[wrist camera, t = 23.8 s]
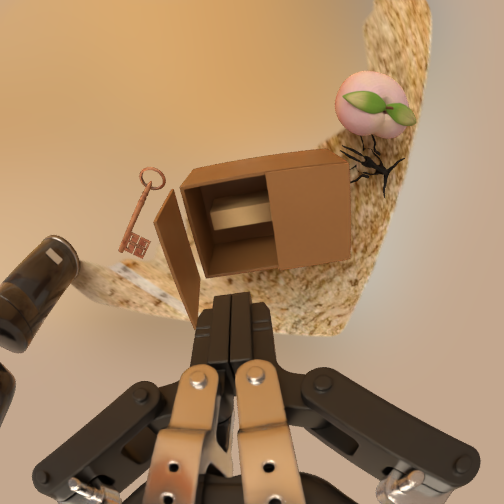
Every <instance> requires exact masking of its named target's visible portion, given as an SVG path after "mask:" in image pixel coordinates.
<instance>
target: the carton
mask: <svg viewBox="0 0 504 504" xmlns="http://www.w3.org/2000/svg"><path fill="white" fill-rule="evenodd" d="M341 163H347V161H346V160H344V159H342V158H341V157H339V156H338V155H336V154H334V153H333V152H331V151H329V150H327V149H316V150H306V151H298V152H290V153H282V154H275V155H268V156H261V157H255V158H248V159H243V160H237V161H231V162H226V163H221V164H215V165H210V166H206V167H200V168H196V169H193V170H192V172H191V173H190V174H189V176H188V177H187V178H186V180H185V181H184V182H183V183H182V185H181V186H180V190H181V194H182V198H183V201H184V205H185V209H186V213H187V216H188V220H189V224H190V227H191V231H192V234H193V237H194V241H195V244H196V248H197V251H198V254H199V258H200V261H201V264H202V267H203V271H204V274H205V277H206V278H213V277H220V276H227V275H234V274H240V273H247V272H254V271H261V270H267V269H274V268H279V265H278V258H277V250H276V243H275V236H274V229H273V222H272V221H268V222H262V223H256V224H250V225H244V226H238V227H232V228H226V229H220V230H214V228H213V224H212V220H211V216H210V211H211V208H212V204H213V201H214V199H217V198H223V197H228V196H234V195H239V194H245V193H251V192H257V191H263V190H268V189H267V182H266V176H265V173H266V172H273V171H280V170H287V169H295V168H303V167H312V166H321V165H330V164H341ZM153 223H154V226H155V229H156V232H157V235H158V238H159V241H160V243H161V246H162V249H163V252H164V255H165V257H166V260H167V263H168V266H169V268H170V271H171V274H172V276H173V279H174V281H175V284H176V287H177V289H178V292H179V294H180V297H181V299H182V302H183V304H184V306H185V309H186V311H187V314H188V316H189V318H190V321H191V323H192V325H193V328H194V330H196V326H197V320H198V306H199V292H200V276H199V273H198V270H197V266H196V263H195V260H194V257H193V254H192V250H191V247H190V244H189V241H188V237H187V234H186V231H185V227H184V224H183V220H182V217H181V214H180V210H179V207H178V203H177V199H176V196H175V192H174V189H172V190H171V191H170V193H169V195H168V196H167V198H166V200H165V201H164V203H163V205H162V207H161V209H160V211H159V212H158V214H157V216H156V218H155V220H154V222H153Z"/></svg>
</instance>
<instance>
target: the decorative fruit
mask: <svg viewBox="0 0 504 504" xmlns="http://www.w3.org/2000/svg"><path fill="white" fill-rule="evenodd" d="M335 111H336V114H337V117H338V119H339V121H340V122H341V123H342V125H343V126H344V127H345V128H346V129H348V130H349V131H350V132H352V133H354V134H357V135H361V136H364V135H370V134H374V135H376V136H378V137H381V138H386V139H389V138H394V137H397V136H398V135H400V134H401V133H402V132H403V131H404V130H405V129H406V127H407V126H412V125H414V124H416V118H415V115H414V113H413V112H412V111H411V109H410V108H409V104H408V101H407V98H406V95H405V92H404V90H403V89H402V87H401V86H400V85H399V84H398V83H397V82H396V81H395V80H394V79H392V78H391V77H389V76H387V75H385V74H382V73H379V72H374V71H361V72H357V73H354V74H352V75H351V76H349V77H348V78H347V79H346V80H345V81H344V82H343V84H342V85H341V87H340V89H339V91H338V94H337V96H336V101H335Z"/></svg>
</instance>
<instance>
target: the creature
mask: <svg viewBox="0 0 504 504" xmlns="http://www.w3.org/2000/svg"><path fill="white" fill-rule="evenodd" d="M371 135H372V134H371ZM360 137H361V135H360ZM372 138H373V141H374V152H375V153H376V154H378V155H380V153H379V152H378V151H377V150H376V148H375V146H376V141H375V138H374V136H373V135H372ZM361 140H362V137H361ZM362 143H363V140H362ZM342 146H343V145H342ZM343 147H345V146H343ZM345 148H347V149H349V150H351V151H353V152H354V153H356V154H358V155H360V156H363V155H362V154H361V153H359V152H358V151H356V150H354V149H352V148H348V147H345ZM367 149H369V148H367ZM364 150H365V148H364V144H363V151H364ZM371 150H372V149H371ZM340 151H341V150H340ZM341 152H342V153H344V154H345V155H346V156H348V157H349V158H351V159H353V160H355V161H358V162H361V161H360V160H358V159H356V158H355V157H353V156H350V155H349V154H347V153H345V152H343V151H341ZM372 152H373V151H372ZM374 152H373V154H374V155H375V156H376V157H377V158H378V159H379V160H380V158H379V157H378V156H377V155H376V154H375V153H374ZM363 157H364V159H365V162H363V161H362V162H361V164H362V165H363V166H365V167H369V168H374V169H376V172H375V173H374V174H370V173H367V172H362V173H365V174H368V175H378V174H382V175H384V186H383V193H384V198H385V188H386V184H387V178H388V175H389V173H390V172H391V171H392V169H393V168H394V167H396V165H397V164H398V163H399V162H400V161H402V160H403V159H405V158H402V159H400V160H399V161H397V162H396V163H395V164H394V165H393V166H391V167H390V168H389V169H386V168H385V167H384V166H383V164H382V161H381V160H380V165H377V164H376V163H374V161H373V160H372V159H371V158H369V157H368V156H363ZM354 167H356V165H355V166H354ZM354 167H353V168H354ZM353 168H351V169H353ZM351 169H349V170H351ZM358 172H359V171H358ZM359 173H360V172H359ZM365 174H362V175H360V176H359V177H358V178H357V179H356V180H354V181H351V182H350V183H352V182H356V181H358V180H359V179H360V178H361V177H365V178H369V176H368V175H365Z"/></svg>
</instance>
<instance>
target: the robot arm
mask: <svg viewBox="0 0 504 504" xmlns="http://www.w3.org/2000/svg"><path fill="white" fill-rule="evenodd" d="M79 270H80V262H79V258H78V255H77V253H76V251H75V250H74V248H73V247H72V246H71V244H70V243H69V242H67V241H66V240H65V239H64V238H62V237H60V236H56V235H51V236H48V237H46V238H45V239H44V240H43V241H42V242H41V244H40V245H38V247H36V248H35V249H34V250H33V251H32V252H31V253H30V254H29V255H28V256H27V257H26V258H25V259H24V260H23V261H22V262H21V263H20V264H19V265H18V266H17V267H16V268H15V269H14V270H13V272H12V273H11V274H10V275H9V276H8V277H7V278H6V279H5V280H4V281H3V282H2V284H1V285H0V346H1V347H3V348H5V349H7V350H9V351H11V352H14V353H23V352H24V351H26V349H27V348H28V346H29V345H30V343H31V341H32V339H33V338H34V336H35V335H36V333H37V331H38V330H39V328H40V327H41V325H42V323H43V322H44V320H45V319H46V317H47V316H48V314H49V313H50V311H51V310H52V308H53V307H54V305H55V304H56V303H57V301H58V300H59V298H60V297H61V295H62V294H63V293H64V291H65V290H66V288H67V287H68V286H69V285H70V283H71V282H72V281H73V280H74V279H75V277H76V276H77V275H78V273H79ZM15 388H16V381H15V378H14V376H13V375H12V373H11V372H10V371H9V370H8V369H7V368H6V367H5V366H4V365H3V364H1V363H0V427H1V424H2V422H3V420H4V418H5V416H6V413H7V411H8V409H9V406H10V404H11V402H12V399H13V396H14V393H15ZM234 396H237V406H238V417H239V431H238V435H237V437H238V448H239V459H240V468H241V475H238V476H234V477H233V462H232V457H231V450H232V439H233V428H234V417H235V412H234ZM289 425H292V426H299V427H304V428H305V429H306V430H307V431H308V432H310V433H311V434H312V435H314V436H315V437H317V438H318V439H319V440H320V441H322V442H323V443H324V444H326V445H327V446H329V447H330V448H331V449H333V450H334V451H336V452H337V453H338V454H340V455H341V456H343V457H344V458H346V459H347V460H349V461H350V462H352V463H353V464H355V465H356V466H358V467H359V468H361V469H362V470H364V471H366V472H367V473H369V474H371V475H372V476H374V477H375V478H377V479H379V480H380V482H379V484H378V486H377V488H376V497H377V499H378V501H379V502H380V503H381V504H444V503H445V502H446V500H447V499H448V497H449V496H450V494H451V493H452V492H453V491H454V490H455V489H457V488H459V487H462V486H464V485H466V484H468V483H469V482H470V481H471V480H473V478H474V477H475V476H476V474H477V473H478V470H479V468H480V456H479V453H478V452H477V450H476V449H475V448H474V447H472V446H470V445H468V444H466V443H464V442H462V441H459V440H458V439H456V438H453V437H452V436H450V435H448V434H446V433H444V432H442V431H440V430H438V429H436V428H434V427H432V426H430V425H429V424H427V423H425V422H423V421H421V420H419V419H418V418H416V417H414V416H412V415H410V414H408V413H407V412H405V411H403V410H401V409H399V408H398V407H396V406H394V405H393V404H390V403H389V402H387V401H386V400H384V399H382V398H380V397H379V396H377V395H375V394H373V393H372V392H370V391H369V390H367V389H365V388H364V387H362V386H360V385H359V384H357V383H355V382H354V381H352V380H350V379H349V378H347V377H346V376H344V375H342V374H341V373H339V372H338V371H336V370H334V369H331V368H327V367H322V368H316V369H314V370H311V371H309V372H308V373H307V374H306V375H305V374H296V373H290V372H288V371H286V370H284V369H282V368H281V367H280V366H279V365H278V363H277V361H276V353H275V345H274V336H273V329H272V322H271V316H270V310H269V308H268V307H267V306H266V304H265V303H264V302H260V303H252V299H251V294H250V292H243V293H235V294H228V295H220V296H214V301H213V309H204V310H203V311H202V313H201V314H200V316H199V317H198V320H197V326H196V332H195V338H194V344H193V351H192V357H191V364H190V368H188V369H187V370H186V371H185V372H184V373H183V374H182V376H181V378H180V380H179V381H177V382H175V383H172V384H169V385H166V386H163V387H159V388H158V387H157V386H156V385H155V384H154V383H152V382H148V381H141V382H138V383H135V384H134V385H132V386H131V387H130V388H129V389H127V390H126V391H125V392H124V393H123V394H122V395H121V396H119V397H118V398H117V399H116V400H115V401H114V402H112V403H111V404H110V405H109V406H108V407H106V408H105V409H104V410H103V411H102V412H101V413H100V414H98V415H97V416H96V417H95V418H93V419H92V420H91V421H90V422H89V423H88V424H86V425H85V426H84V427H83V428H82V429H80V430H79V431H78V432H77V433H76V434H74V435H73V436H72V437H71V438H70V439H68V440H67V441H66V442H65V443H63V444H62V445H61V446H60V447H59V448H57V449H56V450H55V451H54V452H52V453H51V454H50V455H49V456H47V457H46V458H45V459H44V460H42V461H41V462H40V463H39V464H37V465H36V466H35V468H34V470H33V473H32V480H33V484H34V486H35V488H36V489H37V490H38V491H39V492H40V493H42V494H44V495H47V496H49V497H51V498H53V499H55V500H56V501H57V502H58V503H59V504H358V503H356V502H355V501H354V500H352V499H351V498H349V497H348V496H346V495H345V494H344V493H342V492H341V491H340V490H339V489H337V488H336V487H335V486H333V485H332V484H331V483H329V482H328V481H326V480H324V479H322V478H320V477H318V476H315V475H312V474H308V473H304V472H299V470H298V465H297V460H296V456H295V451H294V446H293V442H292V437H291V433H290V428H289ZM148 468H149V473H148V478H147V481H146V482H145V483H144V484H142V485H141V486H140V487H139V488H138V489H137V490H135V491H134V492H133V493H132V494H131V495H130V496H129V497H128V498H127V499H126V500H124V501H123V502H122V499H121V498H120V495H119V493H121V492H122V491H123V490H124V489H125V488H127V487H128V486H129V485H130V484H131V483H132V482H134V481H135V480H136V479H137V478H138V477H139V476H141V475H142V474H143V473H144V472H145V471H146V470H147V469H148Z"/></svg>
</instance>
